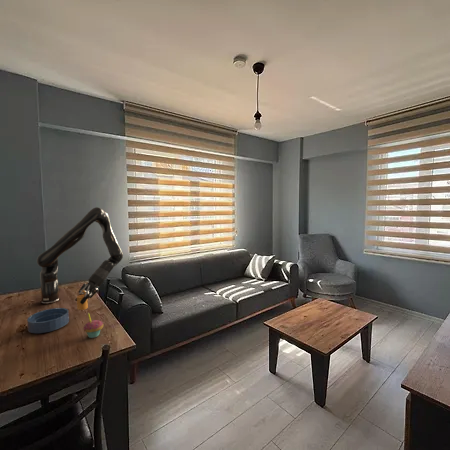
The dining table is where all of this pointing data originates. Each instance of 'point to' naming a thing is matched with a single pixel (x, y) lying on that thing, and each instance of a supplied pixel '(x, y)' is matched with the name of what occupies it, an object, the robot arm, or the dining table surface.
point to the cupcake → (93, 327)
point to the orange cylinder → (79, 305)
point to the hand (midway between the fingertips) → (78, 302)
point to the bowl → (48, 320)
